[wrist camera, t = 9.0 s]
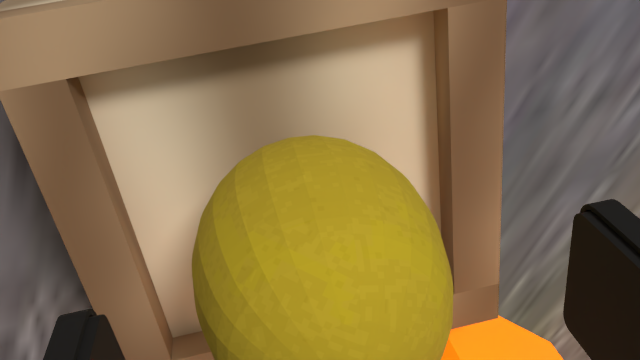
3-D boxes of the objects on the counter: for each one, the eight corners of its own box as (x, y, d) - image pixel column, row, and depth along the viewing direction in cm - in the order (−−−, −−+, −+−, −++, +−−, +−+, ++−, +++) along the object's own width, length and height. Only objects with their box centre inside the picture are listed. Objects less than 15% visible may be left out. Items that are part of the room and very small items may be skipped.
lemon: (406, 100, 16) (568, 278, 9) (367, 265, 18) (469, 508, 11) (201, 80, 14) (197, 270, 7) (188, 260, 17) (176, 531, 10)
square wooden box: (443, -82, 16) (508, -70, 13) (451, 249, 22) (498, 318, 19) (19, -10, 15) (-33, 24, 12) (146, 319, 21) (136, 406, 18)
